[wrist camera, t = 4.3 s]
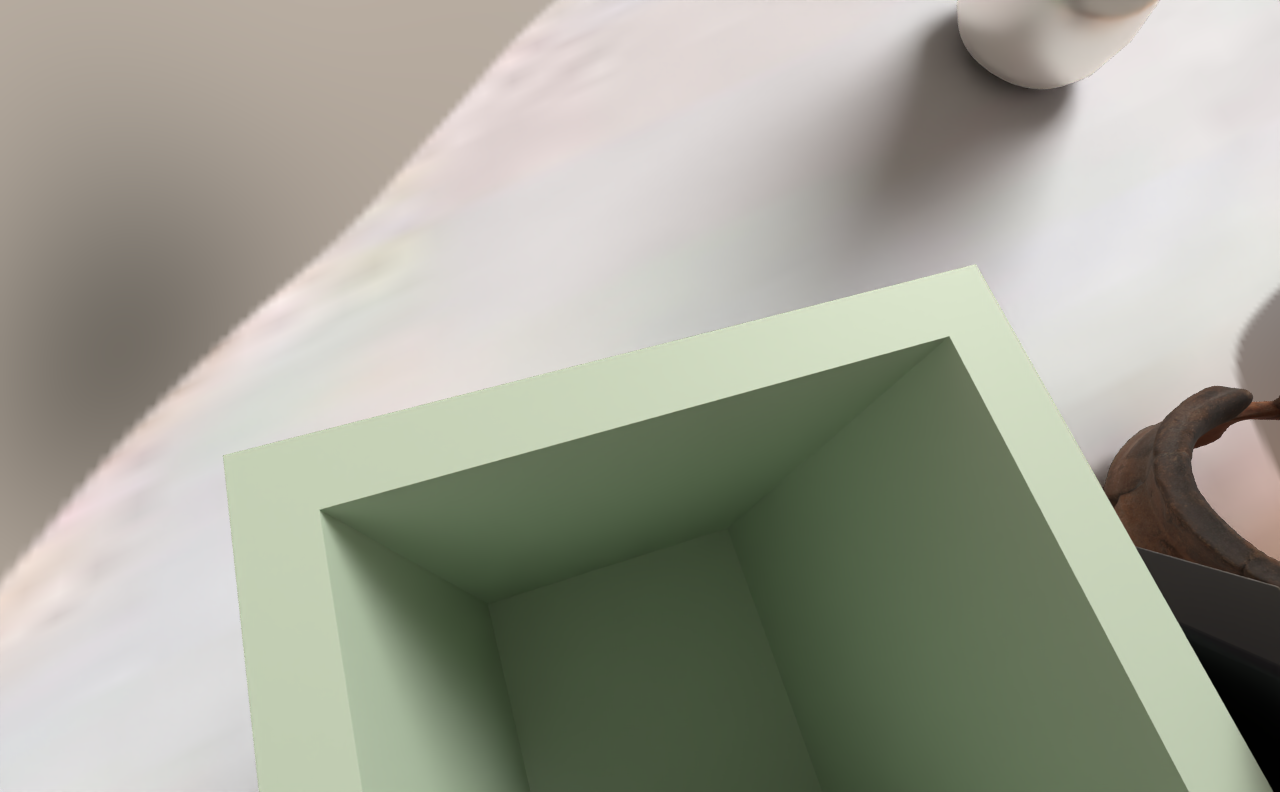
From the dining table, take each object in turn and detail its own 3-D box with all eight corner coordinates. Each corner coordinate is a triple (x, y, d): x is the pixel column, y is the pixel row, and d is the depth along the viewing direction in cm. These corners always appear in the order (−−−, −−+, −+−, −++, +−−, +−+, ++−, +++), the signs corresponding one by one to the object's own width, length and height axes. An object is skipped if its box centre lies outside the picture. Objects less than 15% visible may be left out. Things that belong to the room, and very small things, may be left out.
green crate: (851, 807, 13) (1480, 1162, 4) (532, 939, 12) (374, 1890, 3) (736, 500, 15) (975, 263, 6) (456, 586, 14) (223, 455, 5)
